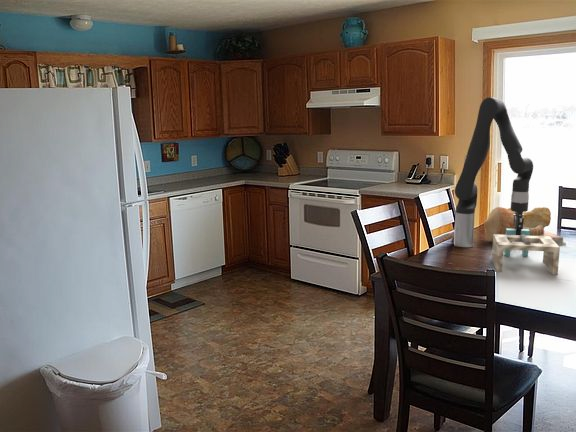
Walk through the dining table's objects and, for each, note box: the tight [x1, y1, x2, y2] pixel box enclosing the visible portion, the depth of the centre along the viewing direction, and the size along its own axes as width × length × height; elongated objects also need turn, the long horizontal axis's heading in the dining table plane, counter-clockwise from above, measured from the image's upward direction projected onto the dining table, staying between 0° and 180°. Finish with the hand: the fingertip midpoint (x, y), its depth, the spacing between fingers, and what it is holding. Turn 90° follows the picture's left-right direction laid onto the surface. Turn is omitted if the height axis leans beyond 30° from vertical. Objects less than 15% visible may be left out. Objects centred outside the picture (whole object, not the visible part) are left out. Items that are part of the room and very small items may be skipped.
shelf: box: [491, 234, 561, 276], centre depth 245 cm, size 24×20×13 cm
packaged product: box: [544, 230, 567, 246], centre depth 291 cm, size 18×5×10 cm
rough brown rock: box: [507, 206, 552, 229], centre depth 313 cm, size 23×16×15 cm
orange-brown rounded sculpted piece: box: [483, 206, 545, 244], centre depth 288 cm, size 20×19×30 cm
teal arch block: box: [503, 228, 530, 258], centre depth 264 cm, size 10×4×12 cm, turn 76°
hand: (517, 236), depth 263 cm, fingers closed on teal arch block, 4 cm apart
